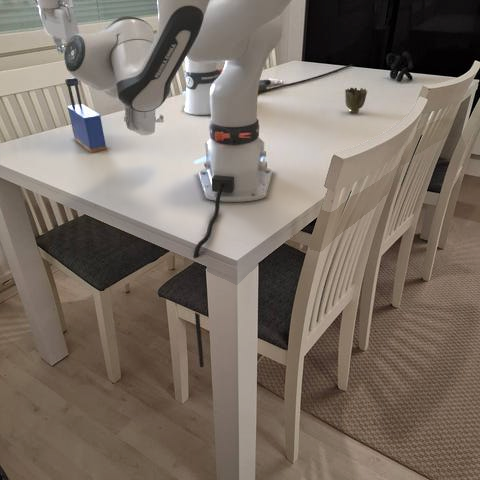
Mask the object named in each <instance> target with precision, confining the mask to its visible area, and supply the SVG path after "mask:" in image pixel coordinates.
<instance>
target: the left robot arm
mask: <svg viewBox="0 0 480 480" xmlns="http://www.w3.org/2000/svg"><path fill="white" fill-rule="evenodd" d="M73 2H74V1H73V0H34V3H35V6H36V7H37V8H38V10H39V16H40V19H41V23H42V26H43V29H44V31H45V33H46V35H48V36H51V37H52V41H53V43H54V45H55V47H56V52H57V53H58V54H64V52H65V46H66V45H67V43H68V41H69V39H70V38H71V37H72V36H74V35H76V34H80V31H79V26H78V22H77V18H76V15H75V13H74V11H73V9H71V8H72V7H74V3H73ZM63 41H64V44H65V46H64V45H63ZM184 64H185V65H184V66H185V68H184V69H185V70H184V81H185V85H186V89H185V91H182V95H185V104H184V109H183V111H184V112H185V113H186V114H190V115H195V116H211V106H210V88H211V86H212V84H213V82H214V81H215V80H216V79H217V78H218V77H219V76H220V74H221V73H222V71H223V68H220V69H218V67H217V65H218V64H217V63H200V62H193V61H191V60H189V59H188V58H187V57H186V58H185V59H184ZM353 66H354V65H353V63H351V64H349V65H346V66H343V67H340V68H337V69H334V70H332V71H328V72H326V73H323V74H319V75H316V76H313V77H312V76H311V77H310V78H306V79H302V80H298V81H294V82H290V83H287V84H282V85H277V86H274V87H270V88H269V87H268V88H266V89H265V90H262V91H260V92H258V94H261V93H265V92H270V91H273V90H277V89H282V88H286V87H290V86H294V85H299V84H301V83H305V82H309V81H312V80H315V79H319V78H322V77H325V76H328V75H331V74H333V73H336V72H339V71H342V70H345V69H347V68H351V67H353Z"/></svg>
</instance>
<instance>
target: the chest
mask: <svg viewBox="0 0 480 480" xmlns="http://www.w3.org/2000/svg"><path fill="white" fill-rule="evenodd" d="M67 111H68V116H69V119H70V124H71V128H72V133H73V139H74V140H75V141H76V142H77V143H79V144H80V145H81V146H82V147H83V148H85V149H86V150H87V151H88V152H90V153H97V152H101V151H105V150H107V145H106V139H105V133H104V129H103V128H104V127H103V123H102V117H101V118H97V119H92V120H87V121H84V120H83V119H81V118H80V117H78V116H77V115H76V114H74V113H73V112H71V111H70V110H68V109H67Z"/></svg>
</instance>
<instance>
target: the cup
mask: <svg viewBox="0 0 480 480" xmlns="http://www.w3.org/2000/svg"><path fill="white" fill-rule="evenodd" d="M367 94H368V90H367V88H363V87H361V88H360V89H358V88H357V87H355V88H354V87H350V88H346V89H345V90H344V95H345V96H344V97H345V99H344V100H345V101H344V102H345V105H346V108H347V109H348V113H349V114H352V115H356V114H359V113H360V109H362V107H364V105H365V102H366V99H367V98H366V97H367Z"/></svg>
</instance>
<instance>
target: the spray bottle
mask: <svg viewBox="0 0 480 480" xmlns="http://www.w3.org/2000/svg"><path fill="white" fill-rule="evenodd" d="M283 83H284V80H282V79H278V78H272V77H271V78H270V77H269V78H267V79H260V81H259V86H258V92H260V91H262V90H265V89H268V87H267V86H270V85H271V84H276V85H277V84H283Z"/></svg>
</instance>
